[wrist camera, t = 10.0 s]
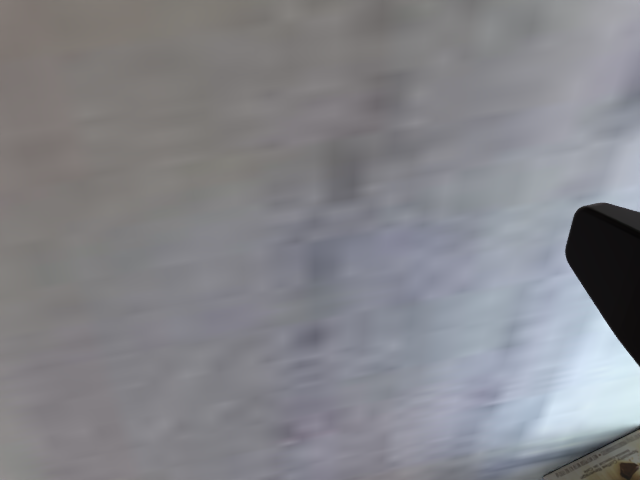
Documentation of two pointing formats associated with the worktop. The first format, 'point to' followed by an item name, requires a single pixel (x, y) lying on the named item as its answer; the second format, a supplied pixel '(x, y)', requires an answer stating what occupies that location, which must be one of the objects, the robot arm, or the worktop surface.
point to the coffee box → (605, 462)
